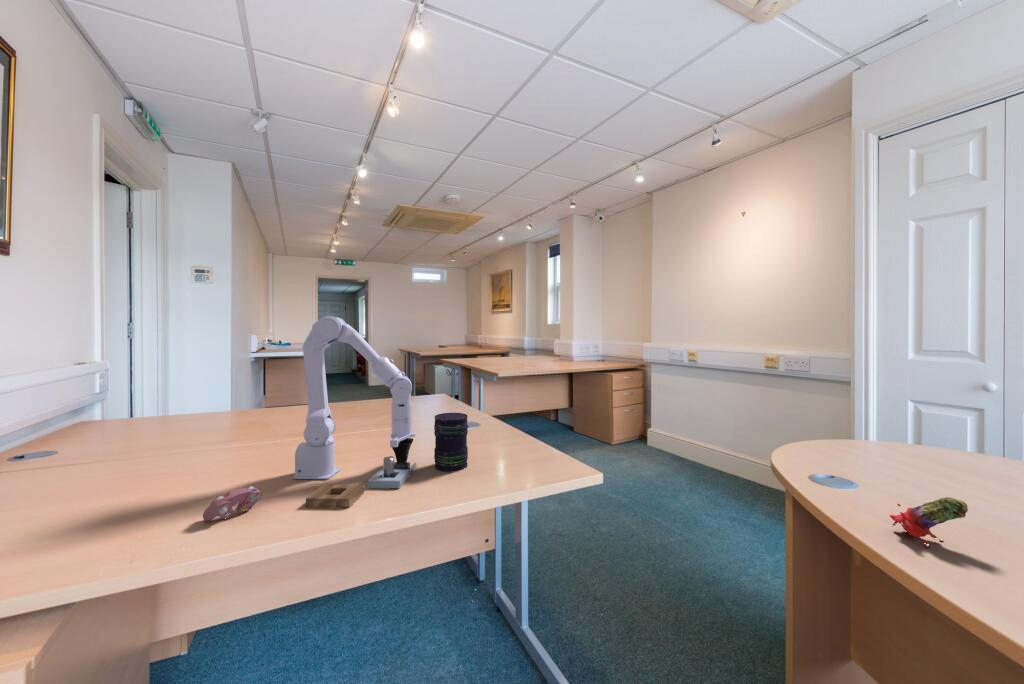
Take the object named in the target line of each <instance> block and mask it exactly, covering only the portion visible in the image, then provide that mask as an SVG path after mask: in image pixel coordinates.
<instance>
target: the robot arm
mask: <svg viewBox="0 0 1024 684" xmlns="http://www.w3.org/2000/svg"><path fill="white" fill-rule="evenodd" d="M335 341H338V342H341V343H344V344H348V345H350V346H351V347H353V348H354V349H355V350H356V351H357V352H358V353H359V354H360V355H361V356H362V357H363V358H364V359H365V360H366V361H367V362H368V363H369V364H370V371H371V373H373V375H375V376H376V377H377V379H379V381H381V383H383V385H385V387H388V388H389V389H390V390H389V391H390V393H391V397H392V399H391V400H392V401H391V433H390V440H389V448H392V450H393V452H394V456H395V458H396V462H408V458H409V457H408V456H409V452H410V449H411V447H412V444H413V442H414V438H412V437H416V435H417V432H414V431H413V401H412V392H413V385H412V384H413V383H412V382H411V380H410V377H408V376H406V373H405V372H404V371H401V370H400V369H399V367H397V366H396V365H395V364H394V362H395V361H394V360H393V359H392V358H390V359H389V358H388V357H387V356H380V355H379V354H378V353H377V351H375V349H374V348H373V347H372V346H371V345H370V344H369V343H368V341H366V339H364V338H363V336H362V335H361V334H360V333H359V332H358V331H357V330H356V329H355V328H353V326H351V325H350V324H349V323H347V322H346V321H345V320H344V319H342V318H341V317H339V316H332V315H326V316H322V317H320V318H319V319H318V320H317V321H316V322H314V323H313V325H312V327H311V330H310V331H309V333H308V335H307V337H306V338H305V340H304V342H303V344H302V352H303V353H302V354H303V365H304V375H305V386H306V395H307V407H308V408H307V409H308V411H307V415H306V420H305V421H306V422H305V423H306V425H305V428H304V430H303V439H304V440H305V442H300V443H299V444H298V445H297V447H296V449H295V452H294V468H295V469H294V476H293V479H294V480H329V479H330V478H331V477H333V476H334V475H335V474H337V473H338V472H339V471H341V470H342V468H341V467H336V461H335V460H336V457H335V454H336V450H335V447H336V446H335V444H336V443H335V442H336V441H335V438H334V437H333V434H334V432H335V430H336V428H337V427H336V421H335V420H334V417H333V416H332V412H331V411H332V410H331V408H330V406H329V400H328V399H329V398H328V386H327V384H328V383H327V376H326V364H325V363H326V362H325V351H326V349H327V348H328V347H329V346H330V345H331V344H332V343H334V342H335Z"/></svg>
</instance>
